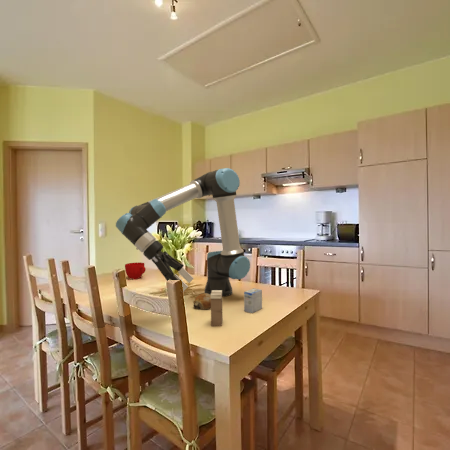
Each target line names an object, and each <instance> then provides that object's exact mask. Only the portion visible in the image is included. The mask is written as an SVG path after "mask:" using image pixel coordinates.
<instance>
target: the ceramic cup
mask: <svg viewBox="0 0 450 450" xmlns="http://www.w3.org/2000/svg"><path fill="white" fill-rule="evenodd" d="M124 269H125V274H126V276H127V277H128V278H129V280H139V279H140V278H141V277H143V274H144V273H145V272H146V269H147V268H146V267H145V262H130V263H126V264H124Z"/></svg>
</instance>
